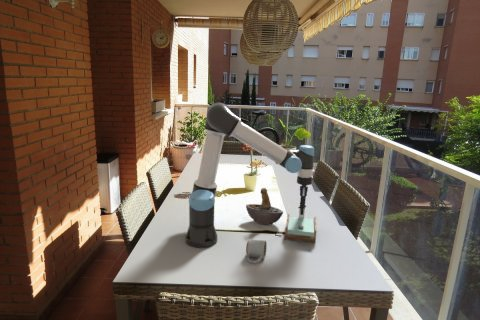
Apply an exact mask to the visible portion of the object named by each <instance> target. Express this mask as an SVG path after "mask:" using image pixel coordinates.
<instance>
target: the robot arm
mask: <svg viewBox="0 0 480 320" xmlns="http://www.w3.org/2000/svg"><path fill="white" fill-rule="evenodd" d="M205 117H206V118H205V121H204V122H205V123H204V130H205V133H206V135H205V139H204V145H203V150H202V157H201V160H200V167H199V171H198V176H197V179H195V180H194V182H193V186H192V191H191V193H190V195H189V199H188V204H189V206H188V207H189V208H188V211H189V213H188V216H189V217H188V219H189V221H188V223H189V225H188V228H187V231H186V232H185V233H186V234H185V238H184V239H185V243H186V244H187V245H188V246H190V247H193V248H208V247H211V246H215V244H217V243H218V233H217V230H216V227H215V203H216V194H217V188H218V184H216V177H217V173H218V170H219V169H218V168H219V163H220V159H221V153H222V147H223V144H224V139H225V137H226V136H227V137H228V138H230V137H233V138H235V139H236V140H238V141H239V142H241V143H243V144H245V145H246V146H248V147H250V148H251V149H253V150H255V151H256V152H258V153H259V154H261V155H263V156H265V157H266V158H267V159H269V160H271V161H273V162H274V163H275V164H276V165H278V166H280V167H282V168H283V169H285V170H286V171H287V172H288V173H291V174H296V175H297V176H296V183H297V184H298V185H300V186H299V196H300V199H299V201H300V202H299V206H298V209H299V210H298V218H305V212H306V211H305V210H306V208H307V205H306V198H307V196H308V192H309V191H308V190H309V187H308V186H310V185H311V186H312V184H313V173H314V172H315V170H314V160H315V148H314V146H312V145H305V144H301V145H300V146H299V148H298V149H286V148H284V147H283V146H280V145H279V144H278V143H276V142H275V141H273V140H271V139H270V138H268V137H266V136H264V135H263V134H262V133H260V132H258V131H257V130H255V129H253V127H250V126H249V125H247V124H245V123H244V122H242V120H241V118H240V117H238V116H237V115H236V114H235V113H234V112H232V110H231V107H229V106H228V105H227V104H226V103H223V102H214V103H212V104H211V105H209V107H208V109H207V111H206V116H205Z"/></svg>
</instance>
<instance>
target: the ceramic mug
mask: <svg viewBox="0 0 480 320" xmlns="http://www.w3.org/2000/svg"><path fill="white" fill-rule="evenodd" d="M245 253H246V255H247V257H246V258H247V261H248V262H249V263H251V264H258V263H259V262H261V260H265V259H266V257H267V240H260V239H249V240H247V242H246V247H245ZM249 257H250V258H257V260H251V259H250V258H249Z"/></svg>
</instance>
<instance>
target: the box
mask: <svg viewBox="0 0 480 320" xmlns="http://www.w3.org/2000/svg"><path fill="white" fill-rule="evenodd" d="M289 217H290V213H287V216H286V223H285V226H284V227H285V229H284V240H289V241H296V242H298V241H299V242H304V243H312V244H313V243H314V244H316V239H317V217H316V216H314V217H313V219H314V237H313V236H304V235H295V234H287V231H288V223H289Z"/></svg>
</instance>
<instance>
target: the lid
mask: <svg viewBox="0 0 480 320" xmlns="http://www.w3.org/2000/svg"><path fill="white" fill-rule="evenodd" d="M287 234H295V235H304V236H313V237H314V218H307V217H304V218H299V217H295V216H289V223H288V231H287Z"/></svg>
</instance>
